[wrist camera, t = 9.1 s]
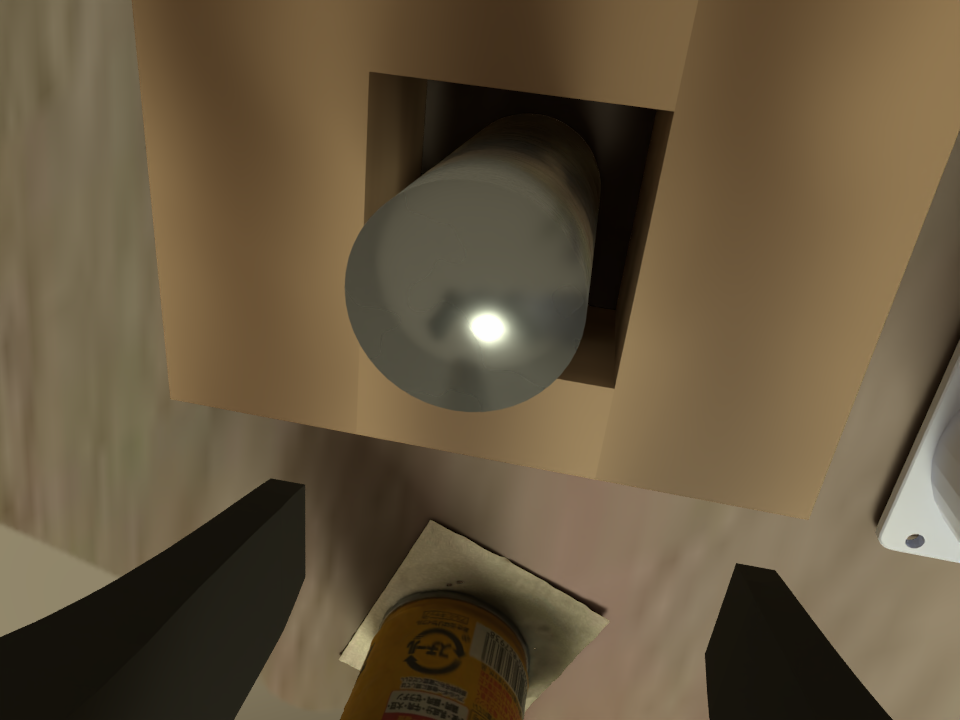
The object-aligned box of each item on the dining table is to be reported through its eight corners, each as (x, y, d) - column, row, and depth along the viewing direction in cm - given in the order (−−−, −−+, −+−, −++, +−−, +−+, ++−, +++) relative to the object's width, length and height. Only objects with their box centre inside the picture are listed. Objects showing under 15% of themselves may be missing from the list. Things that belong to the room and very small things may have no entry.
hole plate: (904, 2, 16) (1012, -7, 12) (768, 415, 21) (808, 520, 17) (244, -71, 18) (121, -102, 14) (257, 326, 23) (170, 398, 18)
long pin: (611, 121, 19) (604, 195, 10) (589, 268, 20) (568, 428, 12) (460, 105, 19) (343, 165, 11) (451, 250, 21) (345, 393, 13)
